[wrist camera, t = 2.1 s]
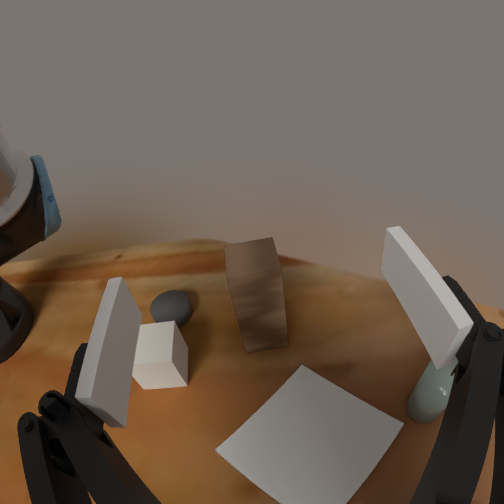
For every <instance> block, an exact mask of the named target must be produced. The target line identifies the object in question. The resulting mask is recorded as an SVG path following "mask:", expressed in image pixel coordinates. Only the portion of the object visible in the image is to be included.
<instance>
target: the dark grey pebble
mask: <svg viewBox="0 0 504 504" xmlns="http://www.w3.org/2000/svg"><path fill="white" fill-rule="evenodd" d="M150 312H151V314H152V316H153V318H154V320H155V322H156V323H160V322H168V321H175V322H176V325H177V327H178V328H179V327H181V326H183V325H184V324H186V323H187V322H188V321H189V319H190V318H191V315H192V307H191V304H190V302H189V299H188V297H187V295H186V294H185V293H183V292H181V291H177V290H172V291H167V292H164V293H162V294H160V295H159V296H157V297H156V298H155V299H154V300H153V302H152V304H151V307H150Z"/></svg>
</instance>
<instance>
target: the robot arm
mask: <svg viewBox="0 0 504 504" xmlns="http://www.w3.org/2000/svg"><path fill="white" fill-rule="evenodd" d="M60 226H61V216H60V212H59V209H58V206H57V203H56V200H55V197H54V193H53V190H52V186H51V183H50V180H49V177H48V173H47V170H46V167H45V164H44V161H43V158H42V157H41V156H40V155H36V156H31V157H29V156H28V155H27V154H26V153H25V152H24V151H22V150H21V149H18V148H14V147H10V145H9V143H8V141H7V139H6V137H5V135H4V133H3V130H2V128H1V126H0V266H2V265H3V264H5V263H6V262H8V261H9V260H11V259H12V258H14V257H16V256H17V255H19V254H20V253H22V252H24V251H25V250H27V249H29V248H30V247H32V246H33V245H35V244H37V243H39V242H40V241H45V240H46V239H47V237H49V236H50V235H52V234H53V233H55V232H56V231H58V229H59V228H60ZM381 272H382V274H383V275H384V277H385V278H386V280H387V282H388V283H389V285H390V287H391V288H392V290H393V292H394V293H395V295H396V296H397V298H398V300H399V302H400V303H401V305H402V307H403V308H404V310H405V312H406V314H407V315H408V317H409V319H410V321H411V322H412V324H413V326H414V328H415V329H416V331H417V333H418V335H419V337H420V339H421V340H422V342H423V344H424V346H425V348H426V350H427V352H428V354H429V355H430V357H431V359H432V361H433V363H434V365H435V367H436V369H440V368H442V367H445V366H447V365H449V364H451V362H452V361H453V359H454V358H455V356H456V358H457V360H458V363H457V365H456V366H455V368H454V369H453V371H452V373H451V375H450V376H453V374H454V373H455V375H454V379H453V384H452V388H451V392H450V396H449V399H448V403H447V407H446V410H445V414H444V417H443V420H442V424H441V427H440V430H439V433H438V436H437V439H436V442H435V445H434V447H433V450H432V453H431V455H430V458H429V461H428V463H427V466H426V468H425V471H424V473H423V475H422V478H421V480H420V482H419V485H418V487H417V489H416V491H415V493H414V496H413V498H412V500H411V502H410V504H470V503H471V500H472V497H473V494H474V492H475V489H476V486H477V483H478V480H479V477H480V474H481V471H482V467H483V464H484V460H485V457H486V453H487V449H488V446H489V441H490V437H491V433H492V428H493V423H494V418H495V456H494V470H493V480H492V489H491V496H490V503H489V504H504V329H501V328H500V327H498V326H497V325H496V324H494V323H492V322H486V321H485V320H484V318H483V317H482V315H481V314H480V313H479V311H478V310H477V308H476V307H475V306H474V304H473V303H472V301H471V300H470V299H469V298H468V296H467V295H466V293H465V292H463V289H462V288H461V287H460V285H459V284H458V283H457V282H456V281H455V280H454V279H452V278H451V277H449V276H445V277H441V276H440V275H439V274H438V272H437V271H436V270H435V268H434V267H433V266H432V265H431V263H430V262H429V261H428V260H427V258H426V257H425V256H424V255H423V253H422V252H421V251H420V250H419V248H418V247H417V246H416V245H415V244H414V242H413V241H412V240H411V239H410V238H409V236H408V235H407V234H406V233H405V232H404V231H403V229H402V228H401V227H400V226H396V227H391V228H387V229H386V238H385V245H384V252H383V260H382V266H381ZM141 318H142V313H141V312H140V310H139V308H138V306H137V304H136V302H135V301H134V299H133V297H132V295H131V293H130V291H129V289H128V287H127V285H126V283H125V281H124V280H123V278H122V277H117V278H112V279H109V280H108V283H107V286H106V289H105V292H104V294H103V297H102V300H101V303H100V306H99V310H98V313H97V316H96V319H95V322H94V325H93V329H92V332H91V335H90V339H89V342H88V343H82V344H81V345H80V347H79V348H78V350H77V351H76V353H75V356H74V360H73V364H72V367H71V372H70V374H69V378H68V382H67V386H66V390H65V394H64V396H63V395H62V394H60V393H59V392H58V391H55V390H52V391H48V392H47V393H45V394H44V395H43V396H42V397H41V399H40V401H39V405H38V410H39V413H40V414H41V415H42V416H40V417H38V416H36V415H35V414H34V413H32V412H27V413H25V414H23V415H22V416H21V417H20V419H19V421H18V427H17V430H18V437H19V445H20V451H21V457H22V463H23V468H24V473H25V478H26V482H27V487H28V491H29V495H30V499H31V502H32V504H92V502H91V499H90V497H89V494H88V492H89V493H90V495H91V496H92V498H93V499H94V501H95V502H96V504H161V502H160V501H159V500H158V499H157V498H156V497H155V496H154V495H153V493H152V492H151V491H150V490H149V489H148V487H147V486H146V485H145V484H144V483H143V481H142V480H141V479H140V478H139V476H138V475H137V474H136V473H135V471H134V470H133V469H132V467H131V466H130V465H129V463H128V462H127V461H126V459H125V458H124V457H123V455H122V454H121V453H120V451H119V450H118V448H117V447H116V445H115V444H114V443H113V441H112V440H111V438H110V437H109V435H108V434H107V432H106V431H105V430H104V429H103V424H104V422H105V423H106V424H107V425H108V426H110V427H118V428H126V421H127V411H128V402H129V394H130V387H131V379H132V372H133V365H134V359H135V353H136V346H137V340H138V335H139V329H140V324H141ZM32 321H33V308H32V306H31V304H30V303H29V301H28V300H27V299H26V297H25V296H24V295H23V294H22V293H21V292H19V291H18V290H17V289H15V288H14V287H13V286H12V285H10V284H9V283H8V282H6V281H5V280H4V279H3V278H1V276H0V363H1V362H3V361H4V360H6V359H7V358H8V357H10V356H11V355H12V354H13V353H14V352H15V351H16V350H17V349H18V347H19V346H20V345H21V344H22V342H23V341H24V339H25V338H26V336H27V334H28V332H29V330H30V327H31V324H32ZM86 488H87V489H86ZM87 490H88V491H87Z"/></svg>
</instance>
